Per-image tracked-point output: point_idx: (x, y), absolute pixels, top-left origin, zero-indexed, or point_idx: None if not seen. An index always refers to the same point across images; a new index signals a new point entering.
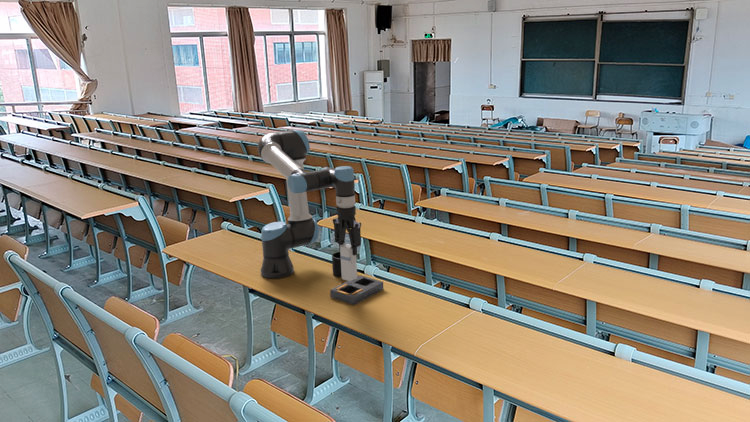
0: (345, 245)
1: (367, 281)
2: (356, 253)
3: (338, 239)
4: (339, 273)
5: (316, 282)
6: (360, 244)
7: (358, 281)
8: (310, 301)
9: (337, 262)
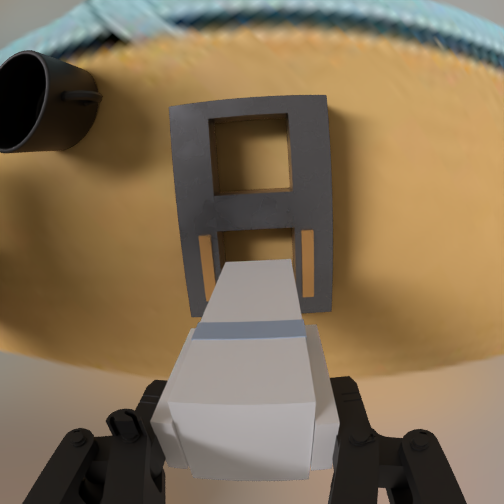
0: (204, 445)
1: (236, 118)
2: (355, 391)
3: (97, 473)
4: (70, 142)
5: (60, 240)
6: (436, 447)
7: (211, 158)
8: (174, 360)
9: (33, 146)
